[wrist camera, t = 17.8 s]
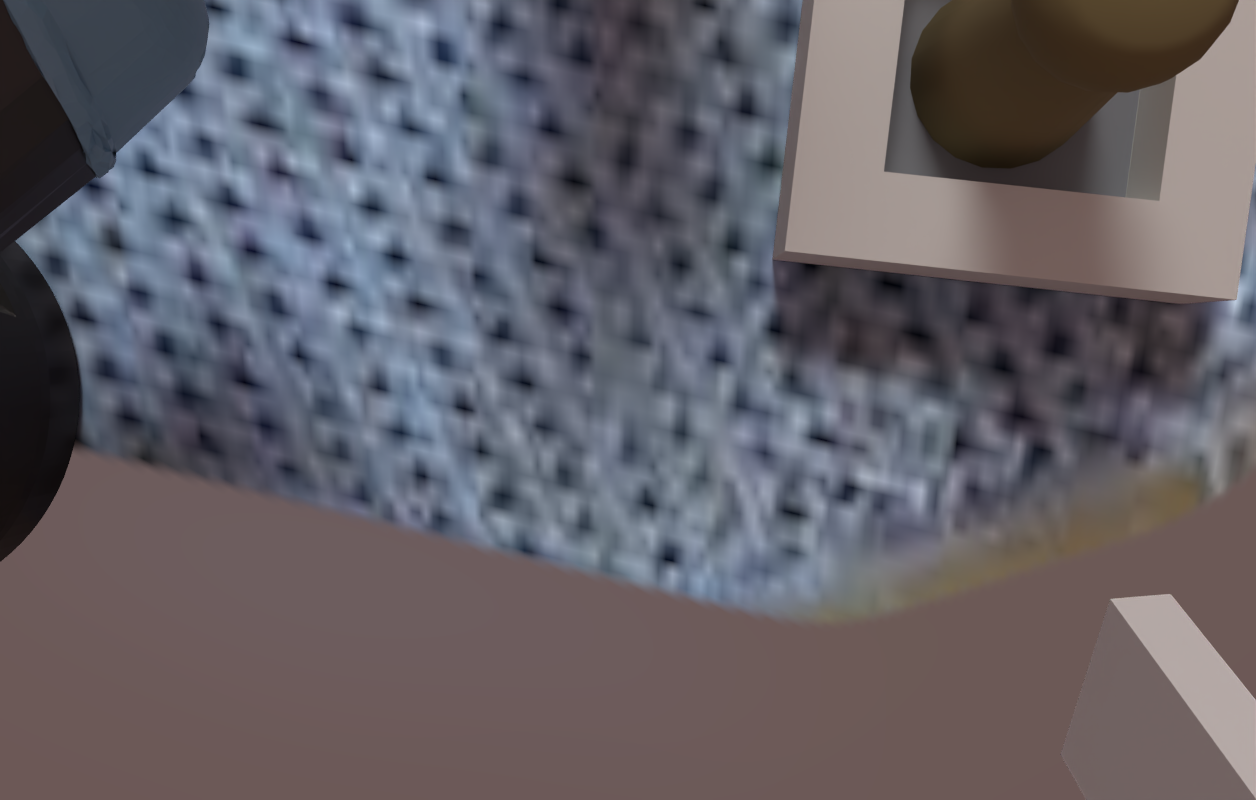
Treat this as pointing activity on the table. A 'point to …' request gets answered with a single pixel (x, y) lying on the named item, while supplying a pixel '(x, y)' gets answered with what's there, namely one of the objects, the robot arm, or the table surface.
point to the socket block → (1017, 172)
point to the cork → (1046, 67)
